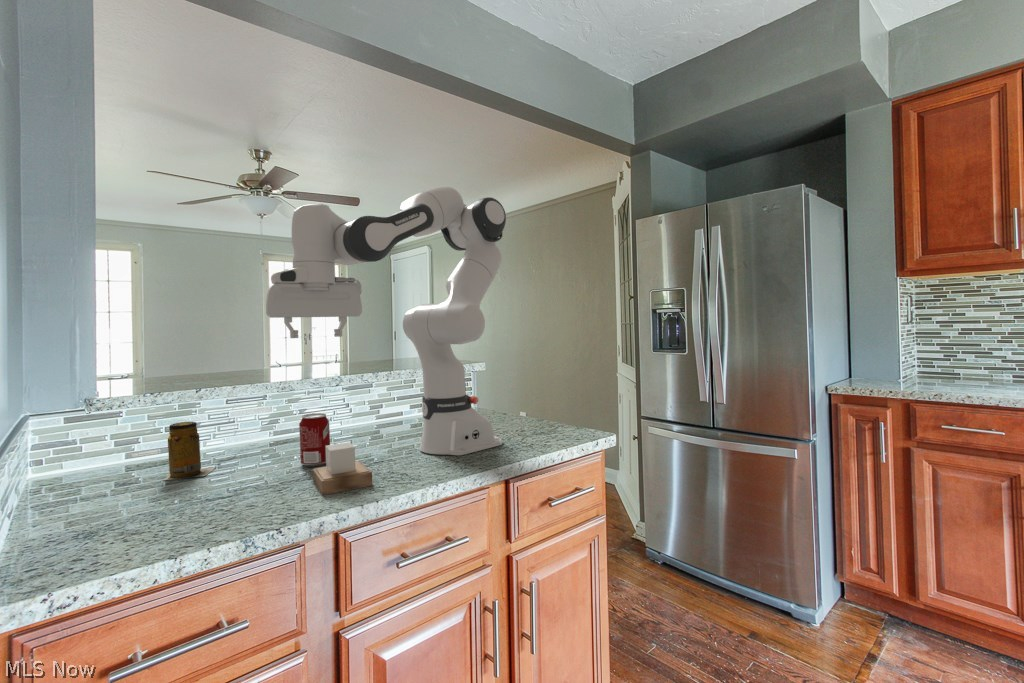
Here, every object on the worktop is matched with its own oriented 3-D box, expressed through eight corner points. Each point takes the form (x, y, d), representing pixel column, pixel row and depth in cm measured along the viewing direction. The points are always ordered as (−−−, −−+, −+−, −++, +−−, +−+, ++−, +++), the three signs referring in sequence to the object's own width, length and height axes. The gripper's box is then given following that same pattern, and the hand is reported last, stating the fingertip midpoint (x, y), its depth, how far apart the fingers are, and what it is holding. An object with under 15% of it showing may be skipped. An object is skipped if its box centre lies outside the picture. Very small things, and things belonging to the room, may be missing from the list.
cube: (350, 464, 106) (349, 442, 106) (355, 470, 101) (354, 447, 101) (326, 468, 103) (325, 445, 103) (330, 474, 99) (329, 450, 99)
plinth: (359, 472, 109) (359, 459, 109) (372, 485, 101) (371, 471, 101) (313, 481, 104) (312, 468, 104) (322, 495, 95) (321, 480, 95)
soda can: (320, 468, 113) (318, 418, 113) (294, 467, 115) (292, 417, 114) (336, 460, 120) (334, 412, 120) (312, 459, 121) (310, 412, 121)
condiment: (175, 471, 114) (173, 421, 113) (215, 468, 116) (213, 418, 115) (161, 481, 107) (158, 428, 106) (204, 477, 109) (201, 425, 108)
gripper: (357, 278, 117) (359, 335, 117) (263, 276, 106) (266, 338, 107) (364, 276, 111) (366, 336, 112) (266, 273, 101) (269, 339, 101)
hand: (316, 337), depth 109 cm, fingers open, 8 cm apart
